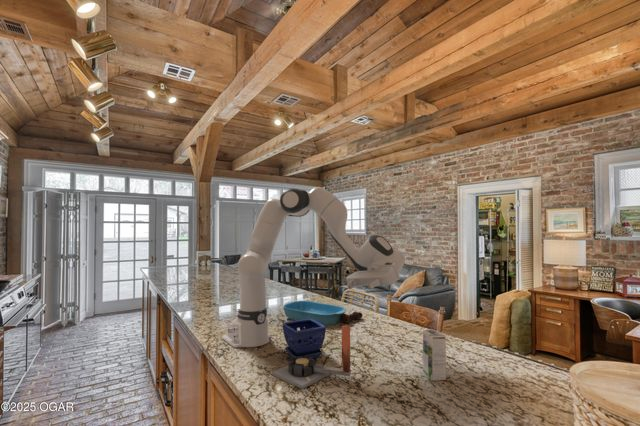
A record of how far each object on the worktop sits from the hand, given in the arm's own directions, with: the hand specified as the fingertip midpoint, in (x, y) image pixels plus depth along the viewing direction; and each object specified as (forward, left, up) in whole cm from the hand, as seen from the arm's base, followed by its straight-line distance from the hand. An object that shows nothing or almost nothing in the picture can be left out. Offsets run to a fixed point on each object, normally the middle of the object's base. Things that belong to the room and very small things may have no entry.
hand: (358, 286), depth 113 cm
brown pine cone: (-35, +46, -29) cm, 64 cm away
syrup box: (+23, +11, -28) cm, 38 cm away
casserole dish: (-53, +35, -29) cm, 70 cm away
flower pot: (-22, -5, -28) cm, 37 cm away
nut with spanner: (-6, -15, -27) cm, 31 cm away
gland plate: (-11, -17, -28) cm, 35 cm away
